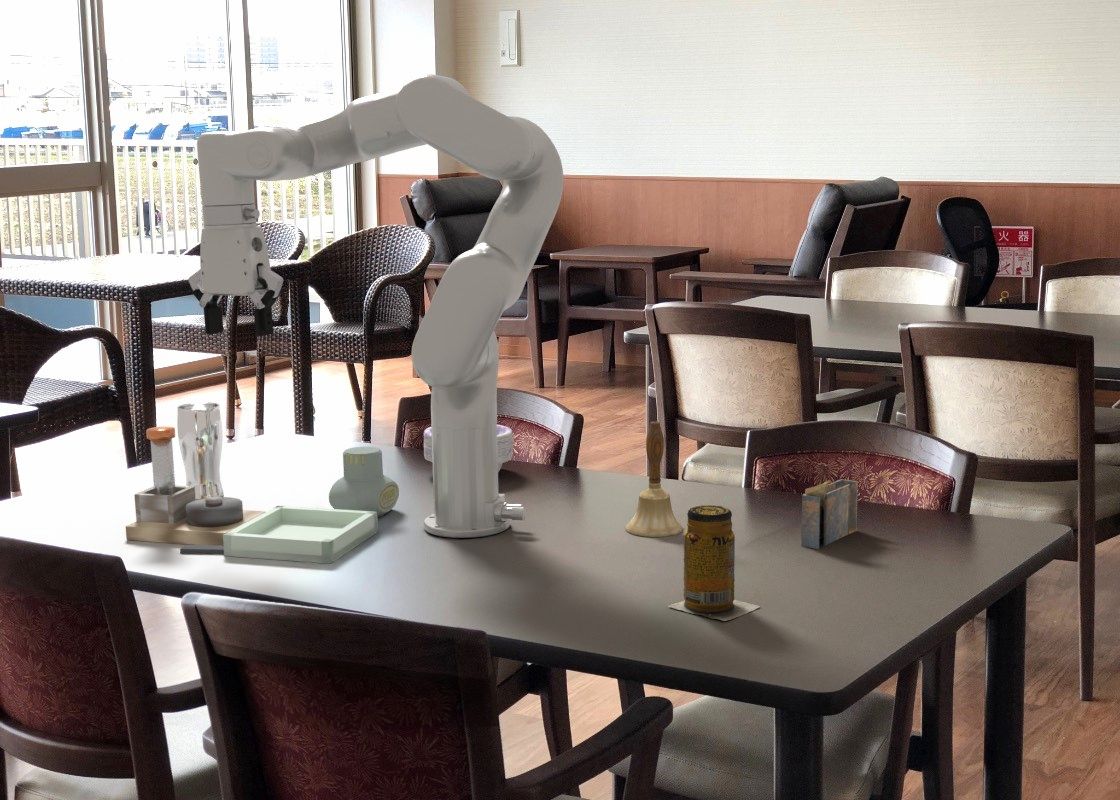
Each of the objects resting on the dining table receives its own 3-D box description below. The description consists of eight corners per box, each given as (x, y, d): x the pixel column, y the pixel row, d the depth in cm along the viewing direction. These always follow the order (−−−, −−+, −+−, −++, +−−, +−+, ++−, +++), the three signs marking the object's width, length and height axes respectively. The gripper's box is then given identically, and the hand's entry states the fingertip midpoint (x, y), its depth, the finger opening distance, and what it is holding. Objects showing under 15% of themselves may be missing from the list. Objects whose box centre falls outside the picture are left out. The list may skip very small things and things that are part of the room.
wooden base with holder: (266, 524, 202) (264, 485, 201) (225, 546, 191) (223, 505, 189) (171, 518, 206) (168, 479, 205) (125, 539, 195) (122, 499, 194)
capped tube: (185, 514, 201) (180, 427, 198) (171, 521, 197) (165, 432, 195) (162, 512, 202) (156, 426, 199) (147, 519, 198) (140, 431, 196)
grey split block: (820, 552, 185) (822, 483, 183) (801, 548, 187) (802, 480, 185) (859, 534, 194) (861, 468, 192) (840, 530, 195) (841, 465, 194)
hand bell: (693, 526, 197) (693, 419, 194) (665, 540, 190) (665, 429, 188) (643, 519, 202) (643, 414, 199) (614, 532, 195) (614, 423, 192)
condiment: (704, 593, 167) (704, 499, 165) (760, 608, 162) (762, 511, 160) (667, 608, 162) (667, 511, 160) (724, 623, 157) (725, 523, 154)
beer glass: (232, 491, 222) (226, 402, 219) (217, 502, 215) (211, 410, 213) (191, 491, 223) (185, 401, 220) (175, 502, 216) (169, 409, 213)
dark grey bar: (282, 550, 188) (282, 546, 188) (278, 554, 186) (278, 550, 186) (185, 548, 190) (185, 544, 190) (180, 553, 188) (179, 548, 188)
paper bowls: (530, 470, 234) (529, 425, 233) (479, 489, 221) (478, 441, 220) (459, 460, 242) (458, 417, 241) (406, 478, 229) (404, 432, 228)
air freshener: (357, 503, 214) (355, 441, 212) (405, 506, 211) (402, 444, 209) (323, 521, 204) (320, 456, 202) (372, 525, 201) (370, 459, 199)
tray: (377, 531, 197) (377, 511, 197) (330, 563, 182) (329, 542, 181) (278, 525, 201) (277, 505, 201) (224, 555, 186) (222, 534, 186)
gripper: (292, 215, 196) (301, 332, 199) (203, 217, 204) (213, 329, 207) (257, 218, 189) (267, 339, 192) (167, 220, 198) (177, 336, 201)
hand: (239, 334), depth 200 cm, fingers open, 9 cm apart
